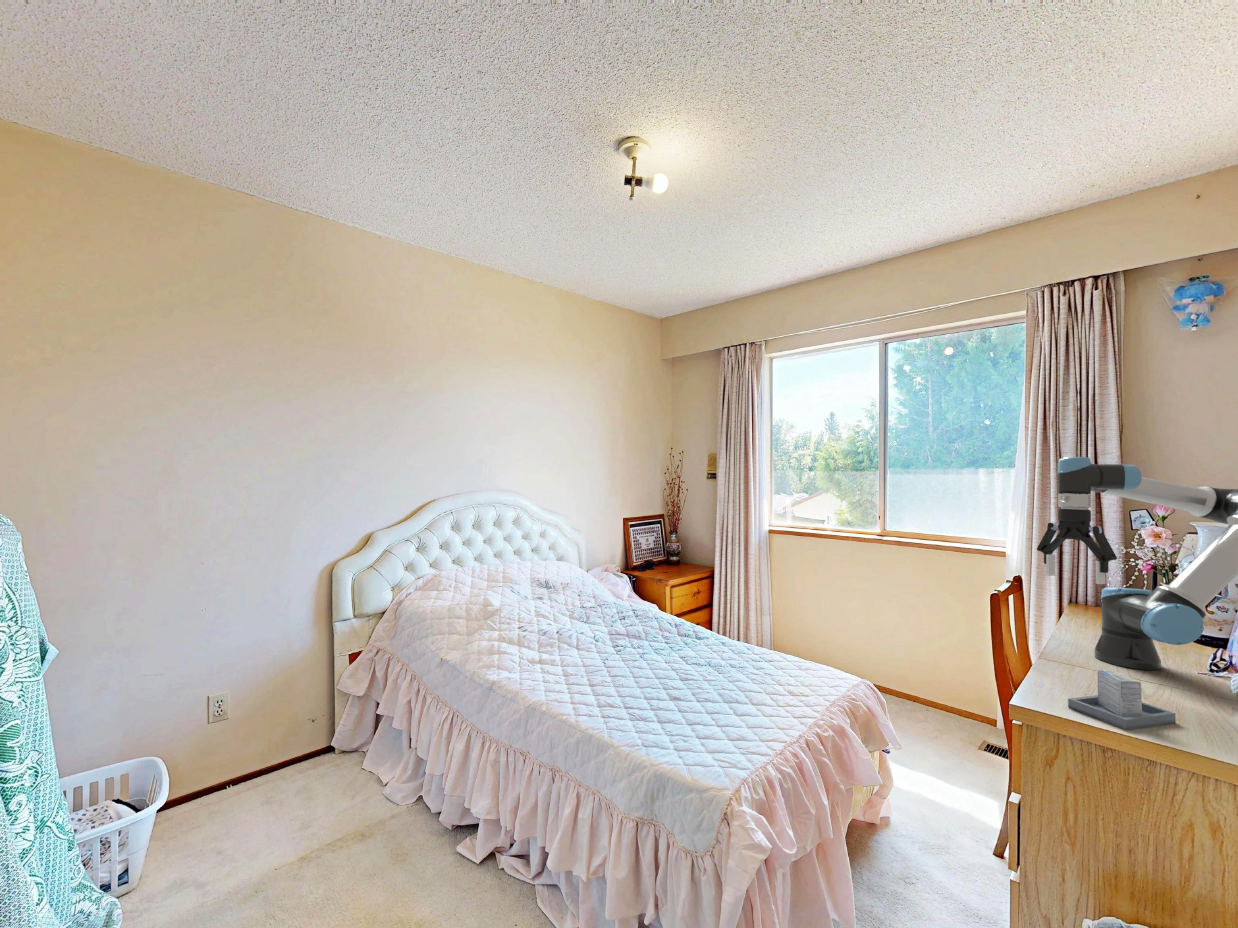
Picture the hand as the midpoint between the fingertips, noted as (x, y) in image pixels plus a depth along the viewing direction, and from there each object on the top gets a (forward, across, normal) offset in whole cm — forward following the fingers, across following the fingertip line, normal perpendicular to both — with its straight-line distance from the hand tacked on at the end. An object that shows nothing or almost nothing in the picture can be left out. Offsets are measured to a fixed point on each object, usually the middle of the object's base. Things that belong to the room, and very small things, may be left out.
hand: (1074, 579), depth 159 cm
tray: (+27, +26, -24) cm, 44 cm away
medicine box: (+26, +26, -24) cm, 44 cm away
